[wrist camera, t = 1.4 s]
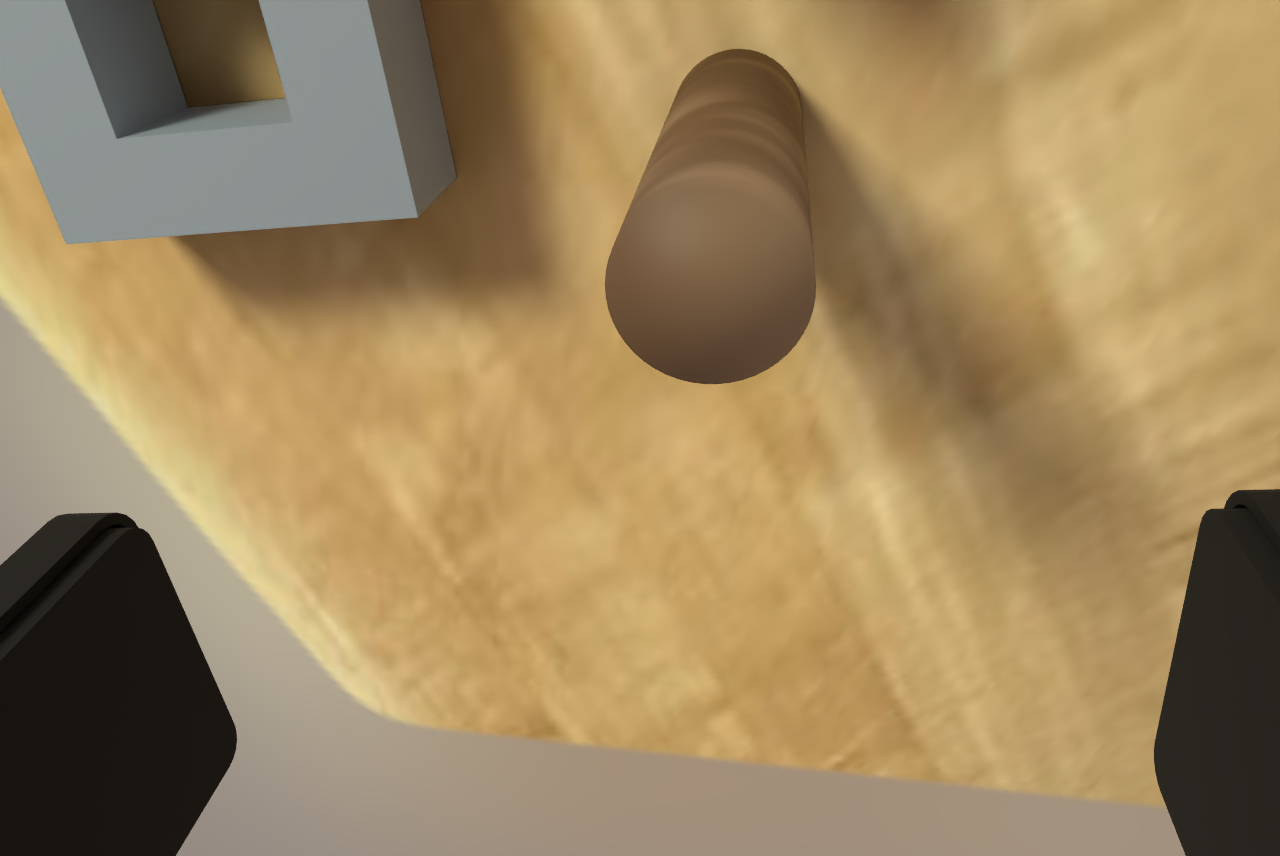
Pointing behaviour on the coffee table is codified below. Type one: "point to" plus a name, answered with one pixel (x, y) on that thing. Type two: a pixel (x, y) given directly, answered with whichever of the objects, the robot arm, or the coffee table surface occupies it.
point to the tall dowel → (719, 228)
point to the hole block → (225, 120)
